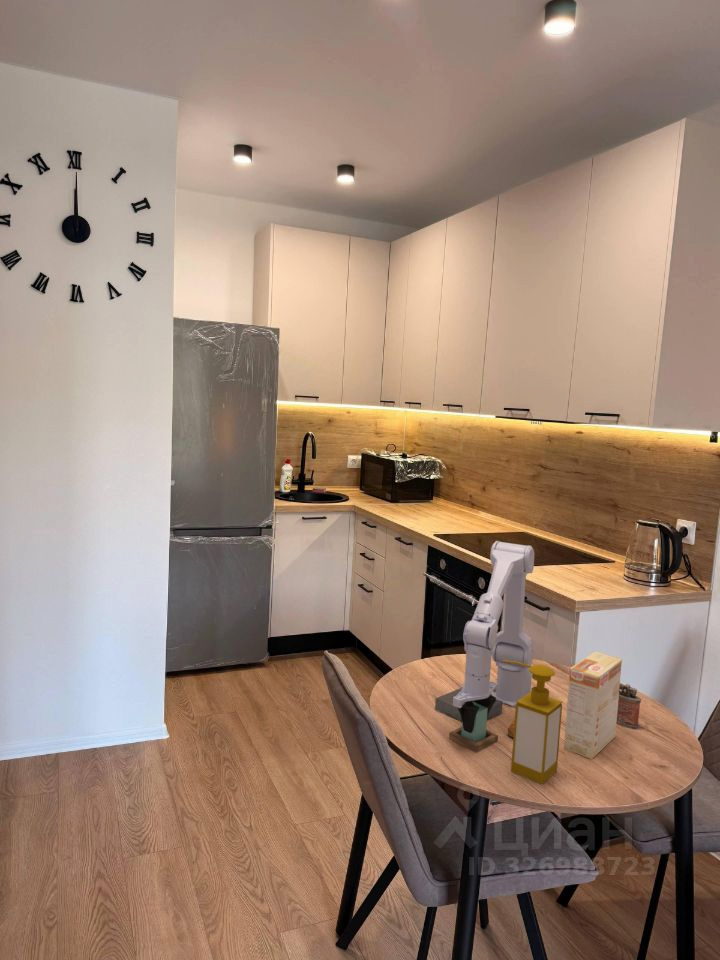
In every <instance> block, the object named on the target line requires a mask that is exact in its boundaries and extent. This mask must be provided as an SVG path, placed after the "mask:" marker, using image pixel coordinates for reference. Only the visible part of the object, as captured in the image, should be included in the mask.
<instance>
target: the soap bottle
mask: <svg viewBox="0 0 720 960" xmlns="http://www.w3.org/2000/svg"><path fill="white" fill-rule="evenodd" d="M503 662H504V663H514V664H519V665H523V666H526V667H529V672H530V673H532V679H533V680H534V681H536V686H531V692H529V693H528V694H526V695H525V696H524V697H522V698H521V699H519V700H518V701H516V703H517V704H516V706H515V713H514V720H515V723H514V737H512V738H513V741H512V752H511V764H510V765H511V767H510V771H511V772H512V773H514V774H517V775H518V776H522V777H524V778H526V779H529V780H531V781H533V782H536V783H538V784H541V785H544V784H545V783H546V782H547V781H548V780H549V779H550V778H551V777H552V776H553V775H554V774H555V773H557V771H558V761H559V751H560V750H559V747H560V737H561V725H562V724H561V723H562V713H563V701H562V700H559V699H556V698H552V697H550V690H549V689H548V688H546V687H545V685H546V683H549V682H550V681H551V680H552V679H551V678H552V677H554V676H555V675H556V672H555V670H554V669H552V668H551V667H549V666H547V665H546V664H535V665H531V666H530V665H527V664H524V663H520V662H515V661H506V660H503Z"/></svg>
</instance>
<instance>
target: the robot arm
mask: <svg viewBox="0 0 720 960" xmlns="http://www.w3.org/2000/svg"><path fill="white" fill-rule="evenodd" d="M489 556H490V557H489V560H490V563H491V568H492V569H493V570H492V572H491V576H490V577H491V578H490V581H489V585H488V588H487V591H486V593H482V594H481V595H480V597H479V600H478V603H477V605H476V608H475V610H474V614H473V616H472V618H471V620H468V621H467V622H466V623H465V626H464V629H463V634H462V635H463V636H462V637H463V638H462V639H463V643H464V648H463V649H464V652H465V653H466V655H465V669H464V682H463V684H461V685H460V688H461V689H462V690H461V691H460V692H459V693H458V695H457V696H455V697H453V706H456V707H457V708H458V710H459V712H460V715H461V719H462V722H461V725H462V724H463V729H464V730H465V731H467V732H469V733H472V731H473V728H474V721H475V717H476V714H477V712H478V710H479V707H478V706H475V705H474V703H473V700H474V702H475V703H477V704H479V705H482V706H484V707H486V708H488V710H487V717H488V714H489V712H490V710H491V708H492V706H493V704H494V703H495V702H496V699H497V700H499V701H501V702H503V704H506V705H508V706H510V707H516V704H517V703H516V701H518V700H519V699H521V698H522V697H524V696H525V695H526V694H528V693H529V692H531V690H532V679H533V678H532V673H530V672H529V667H526V666H523V665H519V664H514V663H504V662H503V660H506V661H515V662H520V663H524V664H527V665H530V666H532V663H533V659H534V647H533V645H534V644H533V639H532V638H531V637H530V635H528V634H527V633H526V632H524V630H523V629H524V628H523V627H524V610H525V595H526V594H525V593H526V579H527V576H528V575H527V574H533V571H534V568H535V550H534V548H533V547H532V545H524V544H519V543H518V544H517V543H510V542H504V541H503V542H502V541H499V540H495V542H494V543H492V545H491V548H490V555H489ZM504 594H505V603H504V600H503V599H502V598H503V595H504ZM503 609H504V622H503V623H504V625H503V626H504V627H503V629H502V630H500V631H498V630H499V620H500V617H501V616H502V615H501V614H502V611H503ZM492 660H493V662H495V666H496V667H497V671H496V682H494V681H490V680H491V668H492Z"/></svg>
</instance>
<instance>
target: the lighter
mask: <svg viewBox="0 0 720 960" xmlns="http://www.w3.org/2000/svg"><path fill="white" fill-rule="evenodd" d="M637 691H638V689H637V688H635V687H632V686H631V685H630V684H628V683H626V684H623V683H622V682H620V687H619V699H618V711H617V722H616V725H618V726H620V727H623V728H628V729H632V730H638V729H639V728H640V727H639V726H640V725H639V720H640V719H639V718H640V717H639V716H640V707H641V703H642V698H641V697H640V696H638V695H637V693H638V692H637Z"/></svg>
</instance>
